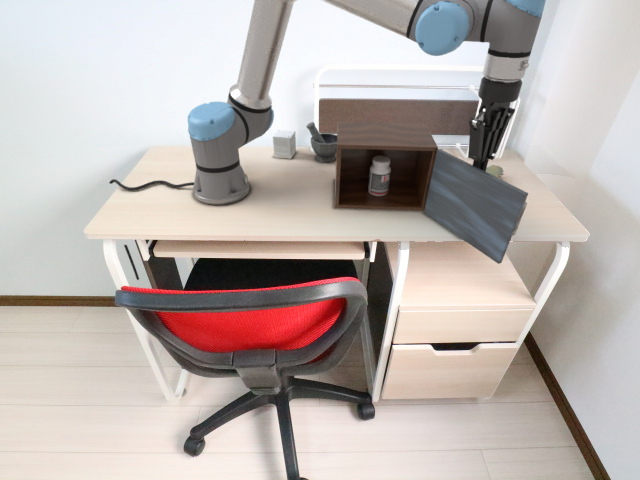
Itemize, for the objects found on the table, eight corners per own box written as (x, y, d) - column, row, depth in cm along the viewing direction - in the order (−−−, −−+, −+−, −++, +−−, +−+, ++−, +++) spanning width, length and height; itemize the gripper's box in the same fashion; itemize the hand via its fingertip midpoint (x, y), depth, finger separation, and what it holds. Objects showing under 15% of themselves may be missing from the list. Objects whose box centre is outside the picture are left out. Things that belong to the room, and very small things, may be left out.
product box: (296, 152, 132) (295, 131, 127) (291, 159, 127) (290, 138, 123) (279, 150, 133) (278, 129, 128) (273, 157, 128) (272, 136, 124)
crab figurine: (463, 170, 120) (471, 157, 116) (493, 175, 122) (502, 162, 119) (473, 188, 114) (482, 174, 110) (505, 192, 116) (514, 179, 113)
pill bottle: (392, 193, 108) (397, 160, 102) (376, 198, 105) (380, 165, 99) (379, 185, 112) (383, 153, 106) (363, 189, 109) (366, 157, 103)
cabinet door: (440, 206, 104) (455, 144, 94) (516, 255, 88) (544, 187, 77) (423, 212, 102) (437, 149, 91) (498, 264, 85) (525, 194, 75)
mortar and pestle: (340, 153, 131) (342, 118, 124) (339, 165, 124) (341, 129, 117) (308, 151, 132) (307, 117, 125) (305, 163, 125) (304, 127, 117)
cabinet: (424, 211, 103) (438, 147, 92) (334, 208, 103) (337, 144, 92) (415, 182, 115) (425, 123, 105) (335, 180, 116) (337, 121, 105)
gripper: (500, 87, 70) (471, 200, 84) (538, 76, 76) (505, 182, 90) (465, 79, 74) (443, 186, 89) (503, 68, 81) (477, 171, 95)
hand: (474, 184), depth 89 cm, fingers closed
